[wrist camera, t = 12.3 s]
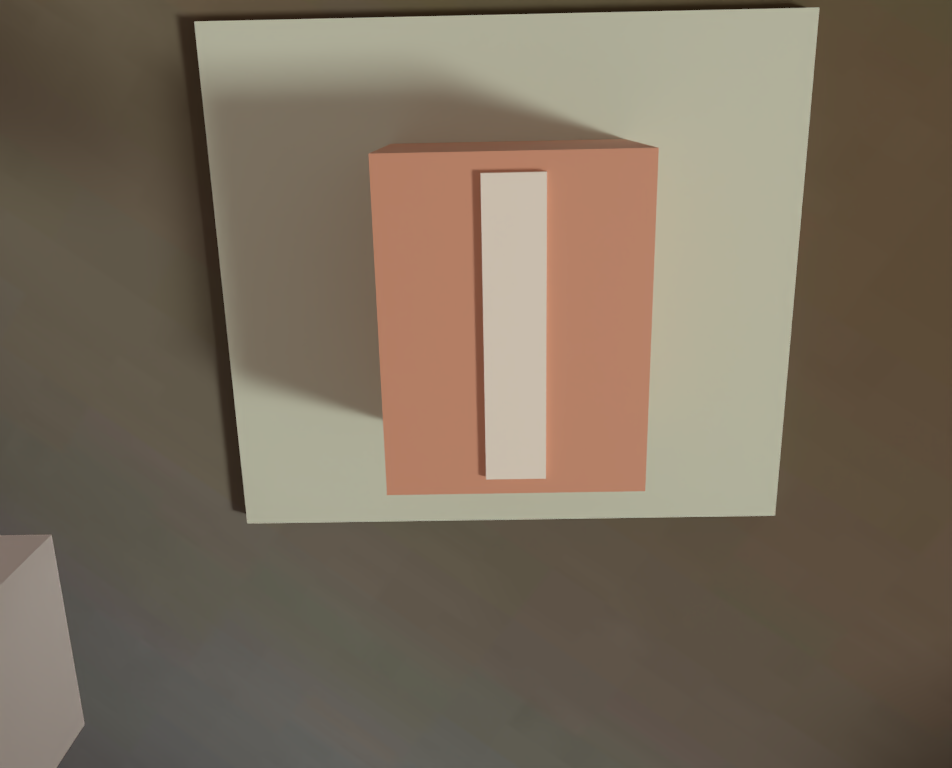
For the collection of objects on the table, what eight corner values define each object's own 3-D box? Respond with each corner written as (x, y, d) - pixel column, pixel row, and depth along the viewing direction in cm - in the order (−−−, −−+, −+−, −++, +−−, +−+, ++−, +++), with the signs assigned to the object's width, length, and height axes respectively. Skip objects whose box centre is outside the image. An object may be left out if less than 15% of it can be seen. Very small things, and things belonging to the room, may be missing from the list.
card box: (616, 421, 30) (646, 494, 24) (404, 425, 30) (386, 498, 24) (624, 138, 27) (660, 147, 21) (390, 143, 27) (367, 154, 21)
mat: (812, 9, 26) (819, 7, 26) (769, 508, 31) (774, 515, 30) (200, 22, 27) (193, 21, 26) (251, 515, 31) (247, 523, 31)
